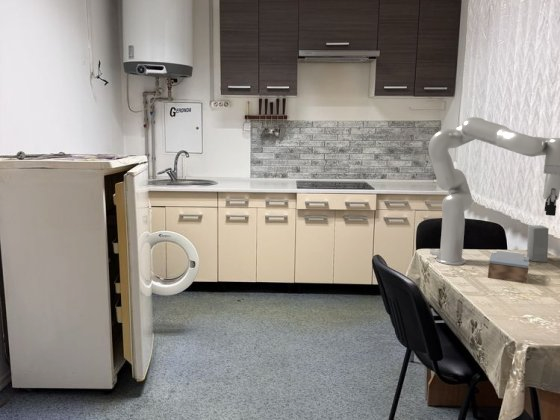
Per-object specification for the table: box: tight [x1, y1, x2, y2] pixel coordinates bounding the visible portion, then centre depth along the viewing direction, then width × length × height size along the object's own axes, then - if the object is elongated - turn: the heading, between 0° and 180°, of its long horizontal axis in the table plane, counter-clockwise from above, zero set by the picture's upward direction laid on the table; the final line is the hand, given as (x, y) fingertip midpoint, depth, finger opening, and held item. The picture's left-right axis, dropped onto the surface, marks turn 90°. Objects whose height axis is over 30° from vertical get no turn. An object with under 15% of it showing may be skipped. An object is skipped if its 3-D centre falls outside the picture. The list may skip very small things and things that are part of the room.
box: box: [487, 262, 529, 284], centre depth 185 cm, size 14×14×6 cm
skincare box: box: [526, 224, 550, 263], centre depth 209 cm, size 8×7×16 cm
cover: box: [488, 249, 530, 269], centre depth 184 cm, size 14×14×4 cm
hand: (549, 213), depth 178 cm, fingers open, 9 cm apart
